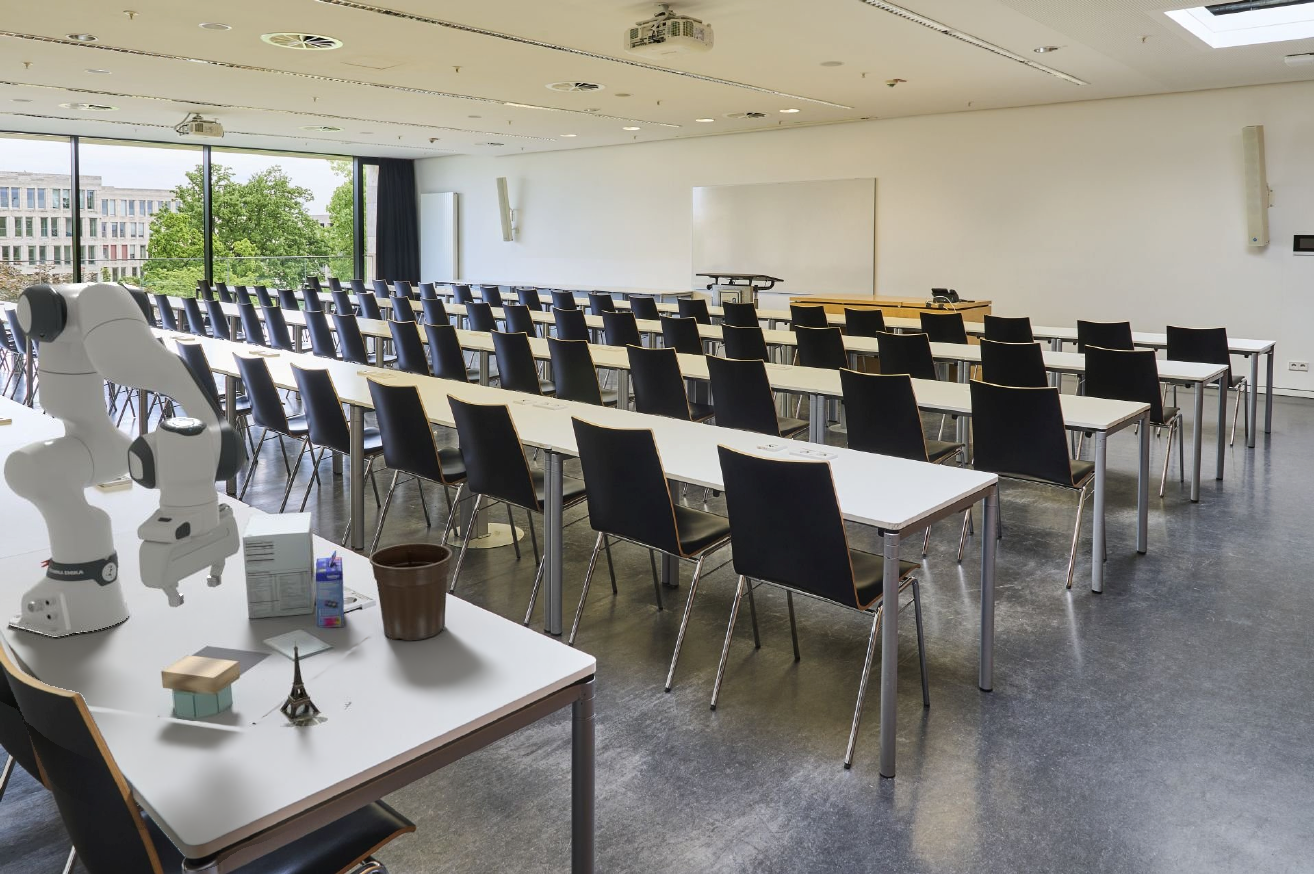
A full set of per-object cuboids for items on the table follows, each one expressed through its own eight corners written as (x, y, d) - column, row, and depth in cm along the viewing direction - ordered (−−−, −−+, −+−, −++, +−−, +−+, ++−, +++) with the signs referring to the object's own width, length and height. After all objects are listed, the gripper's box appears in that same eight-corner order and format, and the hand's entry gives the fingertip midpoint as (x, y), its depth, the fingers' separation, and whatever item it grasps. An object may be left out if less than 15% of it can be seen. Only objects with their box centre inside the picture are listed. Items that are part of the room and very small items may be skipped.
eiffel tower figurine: (240, 727, 163) (234, 652, 161) (270, 699, 173) (264, 627, 170) (327, 733, 162) (322, 657, 159) (352, 704, 172) (348, 632, 169)
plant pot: (359, 627, 203) (355, 552, 200) (429, 608, 214) (427, 537, 210) (395, 652, 191) (392, 573, 188) (468, 631, 202) (467, 556, 198)
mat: (164, 675, 180) (163, 672, 180) (207, 648, 192) (207, 645, 192) (231, 684, 177) (231, 680, 177) (271, 656, 189) (271, 653, 189)
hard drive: (333, 646, 191) (301, 628, 200) (293, 658, 186) (262, 639, 194) (333, 654, 192) (301, 635, 200) (294, 666, 186) (262, 647, 194)
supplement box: (314, 614, 210) (309, 532, 206) (247, 620, 206) (241, 537, 202) (317, 586, 226) (312, 510, 222) (254, 591, 222) (249, 514, 218)
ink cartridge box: (345, 627, 203) (341, 560, 200) (316, 630, 202) (312, 562, 199) (344, 609, 212) (341, 545, 209) (317, 612, 211) (314, 547, 208)
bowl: (162, 716, 165) (160, 691, 164) (198, 693, 174) (196, 669, 173) (209, 723, 163) (206, 697, 162) (242, 699, 172) (240, 675, 171)
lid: (162, 687, 166) (161, 671, 165) (188, 671, 172) (187, 655, 171) (215, 694, 163) (213, 677, 163) (239, 677, 170) (238, 661, 169)
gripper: (215, 498, 174) (220, 572, 177) (128, 532, 155) (136, 615, 158) (246, 501, 173) (251, 576, 176) (163, 536, 153) (170, 619, 156)
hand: (196, 595), depth 167 cm, fingers open, 8 cm apart
